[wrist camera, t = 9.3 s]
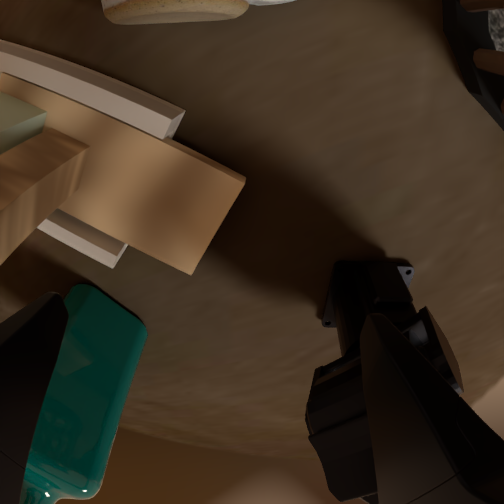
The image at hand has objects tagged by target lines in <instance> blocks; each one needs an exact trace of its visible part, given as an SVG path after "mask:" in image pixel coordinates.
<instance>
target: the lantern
mask: <svg viewBox="0 0 504 504" xmlns="http://www.w3.org/2000/svg"><path fill="white" fill-rule="evenodd" d="M442 3H443V31H444V33H445V35H446V37H447V39H448V41H449V44H450V46H451V48H452V50H453V53H454V55H455V57H456V60H457V62H458V65H459V67H460V70H461V72H462V75H463V77H464V80H465V83H466V86H467V88H468V91H469V93H470V94H471V95H472V96H473V97H474V98H475V99H476V100H477V101H478V102H479V103H480V104H481V105H482V106H483V107H484V109H485V110H486V111H487V112H488V113H489V114H490V115H491V116H492V118H493V119H494V120H495V121H496V122H497V123H498V125H499V126H500V127H501V128H502V129H503V131H504V0H442Z"/></svg>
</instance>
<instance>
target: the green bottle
mask: <svg viewBox="0 0 504 504" xmlns="http://www.w3.org/2000/svg"><path fill="white" fill-rule="evenodd" d="M63 301H64V303H65V306H66V308H67V310H68V314H69V319H68V323H67V326H66V330H65V333H64V337H63V340H62V344H61V348H60V352H59V355H58V359H57V362H56V365H55V368H54V371H53V374H52V377H51V380H50V383H49V386H48V389H47V392H46V395H45V398H44V401H43V404H42V408H41V411H40V414H39V418H38V421H37V425H36V429H35V432H34V436H33V440H32V444H31V448H30V452H29V456H28V461H27V465H26V468H25V469H26V470H25V475H24V480H23V485H22V491H21V497H20V503H19V504H55V503H56V501H58V500H59V499H62V498H69V499H89V498H92V497H94V496H95V495H96V494H97V492H98V491H99V489H100V487H101V485H102V481H103V477H104V473H105V470H106V466H107V463H108V458H109V455H110V452H111V448H112V444H113V441H114V438H115V435H116V431H117V428H118V425H119V421H120V418H121V415H122V412H123V408H124V405H125V402H126V399H127V396H128V393H129V390H130V387H131V384H132V381H133V378H134V375H135V372H136V369H137V366H138V363H139V360H140V357H141V354H142V351H143V348H144V346H145V343H146V340H147V336H148V333H147V330H146V327H145V325H144V324H143V323H142V322H141V320H139V319H138V318H137V317H135V316H134V315H132V314H131V313H130V312H128V311H127V310H125V309H124V308H123V307H121V306H120V305H119V304H117V303H116V302H114V301H113V300H112V299H110V298H109V297H108V296H106V295H105V294H104V293H102V292H101V291H100V290H98V289H97V288H96V287H93V286H91V285H89V284H77V285H75V286H73V287H72V288H71V290H70V291H69V293H68V294H67V296H66V297H65V299H64V300H63Z"/></svg>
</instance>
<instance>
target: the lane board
mask: <svg viewBox="0 0 504 504" xmlns="http://www.w3.org/2000/svg"><path fill="white" fill-rule="evenodd" d="M3 72H6V73H9V74H12V75H14V76H17V77H19V78H22V79H25V80H27V81H30V82H32V83H35V84H37V85H40V86H42V87H45V88H47V89H50V90H52V91H55V92H57V93H60V94H62V95H65V96H67V97H69V98H72V99H74V100H76V101H79V102H81V103H83V104H86V105H88V106H90V107H93V108H95V109H97V110H99V111H102V112H104V113H106V114H108V115H111V116H113V117H115V118H117V119H120V120H122V121H124V122H126V123H128V124H130V125H133V126H135V127H137V128H139V129H141V130H143V131H145V132H148V133H150V134H152V135H154V136H156V137H158V138H160V139H162V140H163V139H164V138H165V137H168V138H170V139H172V138H173V136H174V134H175V132H176V130H177V128H178V126H179V123H180V121H181V119H182V117H183V115H184V113H185V111H186V110H184V109H182V108H180V107H178V106H175V105H173V104H171V103H169V102H167V101H165V100H162V99H160V98H158V97H156V96H154V95H151V94H149V93H147V92H145V91H142V90H140V89H138V88H135V87H133V86H131V85H128V84H126V83H124V82H121V81H119V80H116V79H114V78H111V77H109V76H106V75H104V74H101V73H99V72H96V71H94V70H91V69H89V68H86V67H83V66H81V65H78V64H75V63H72V62H70V61H67V60H64V59H61V58H58V57H55V56H53V55H50V54H47V53H44V52H41V51H38V50H34V49H31V48H28V47H25V46H22V45H18V44H15V43H11V42H8V41H4V40H1V39H0V78H1V74H2V73H3ZM37 228H38V229H40V230H42V231H43V232H45V233H47V234H49V235H51V236H52V237H54V238H56V239H58V240H59V241H61V242H63V243H65V244H67V245H69V246H70V247H72V248H74V249H76V250H78V251H80V252H82V253H84V254H85V255H87V256H89V257H91V258H93V259H95V260H97V261H99V262H101V263H103V264H105V265H107V266H109V267H110V268H112V269H113V268H114V266H115V265H116V263H117V262H118V260H119V258H120V257H121V255H122V254H123V252H124V250H125V249H126V247H127V246H128V244H126V243H124V242H122V241H120V240H118V239H116V238H114V237H112V236H110V235H108V234H106V233H104V232H102V231H100V230H98V229H96V228H95V227H93V226H91V225H89V224H87V223H85V222H83V221H81V220H79V219H77V218H75V217H74V216H72V215H70V214H68V213H66V212H64V211H62V210H60V209H59V208H57V209H56V210H55V211H53V212H52V213H51V214H50V215H49V216H48V217H47V218H46V219H45V220H44V221H43V222H42V223H41V224H40V225H39V226H38V227H37Z"/></svg>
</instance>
